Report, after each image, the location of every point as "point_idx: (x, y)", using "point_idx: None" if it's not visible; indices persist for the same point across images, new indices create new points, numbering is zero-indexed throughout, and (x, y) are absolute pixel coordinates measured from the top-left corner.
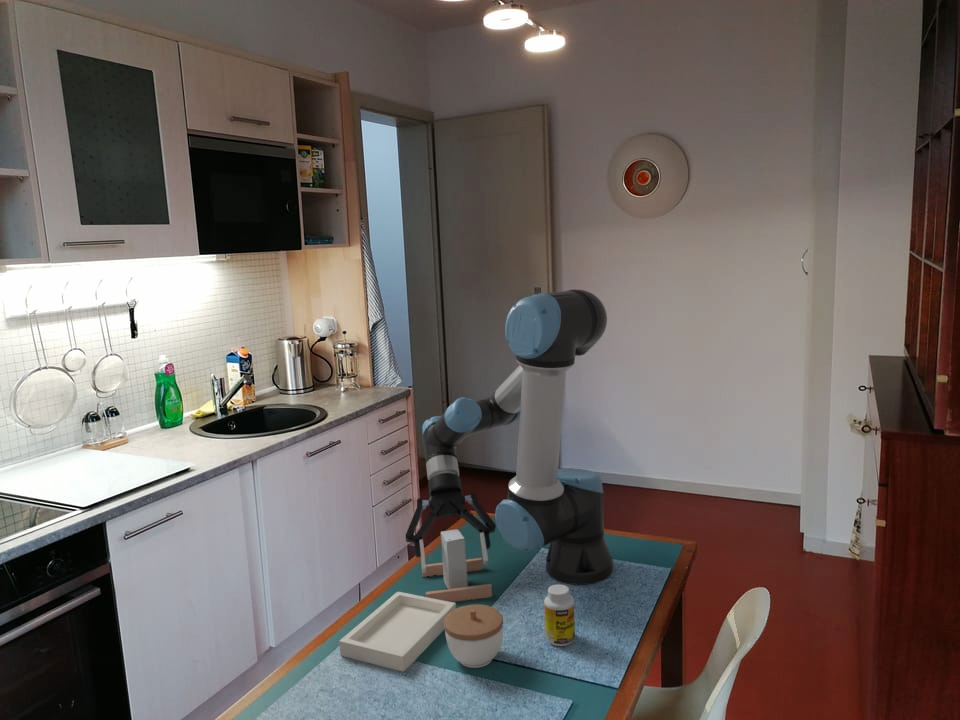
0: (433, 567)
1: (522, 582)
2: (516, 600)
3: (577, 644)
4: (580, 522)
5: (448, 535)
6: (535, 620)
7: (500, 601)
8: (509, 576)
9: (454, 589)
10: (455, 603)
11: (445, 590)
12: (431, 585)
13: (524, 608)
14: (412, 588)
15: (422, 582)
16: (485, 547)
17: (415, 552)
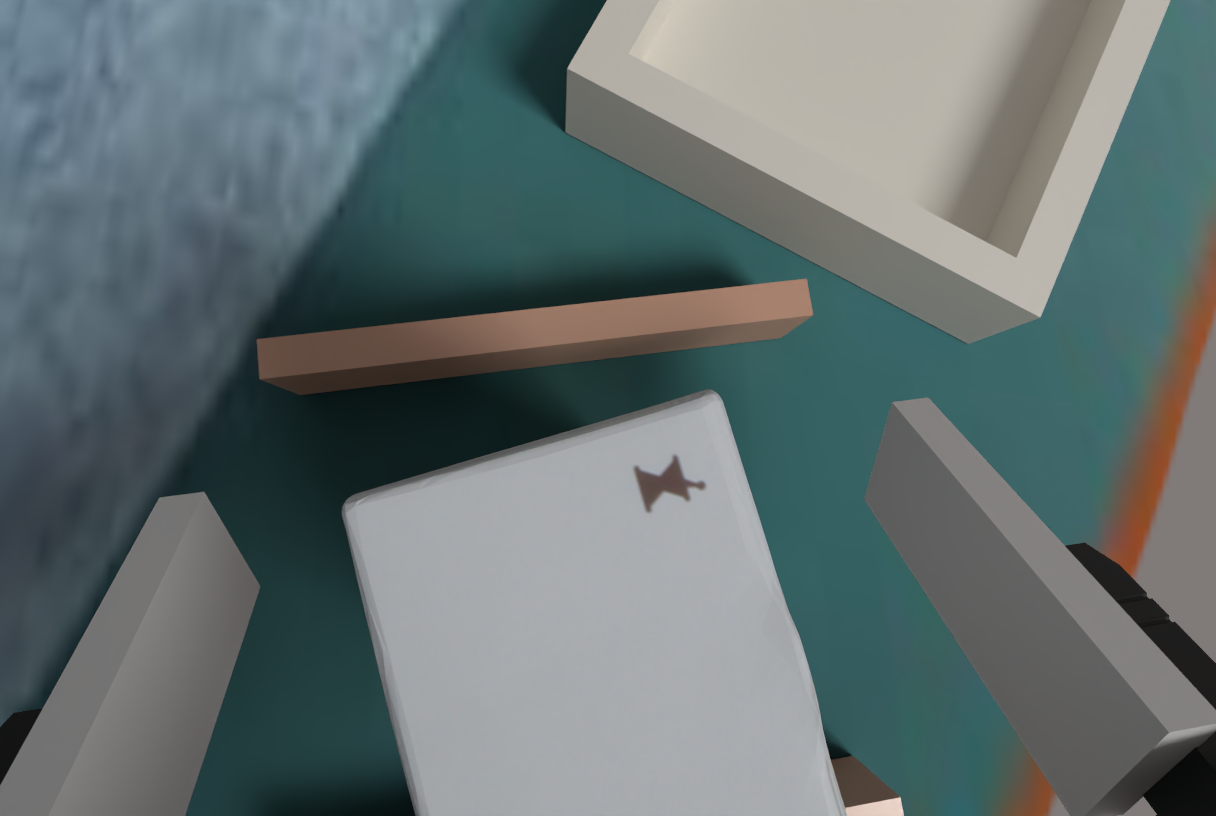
0: None
1: (12, 567)
2: (115, 284)
3: None
4: None
5: (701, 711)
6: (27, 6)
7: (241, 287)
8: None
9: (580, 323)
10: (568, 68)
11: (655, 317)
12: None
13: (75, 165)
14: (906, 572)
15: (843, 664)
16: (87, 649)
17: (1122, 573)
